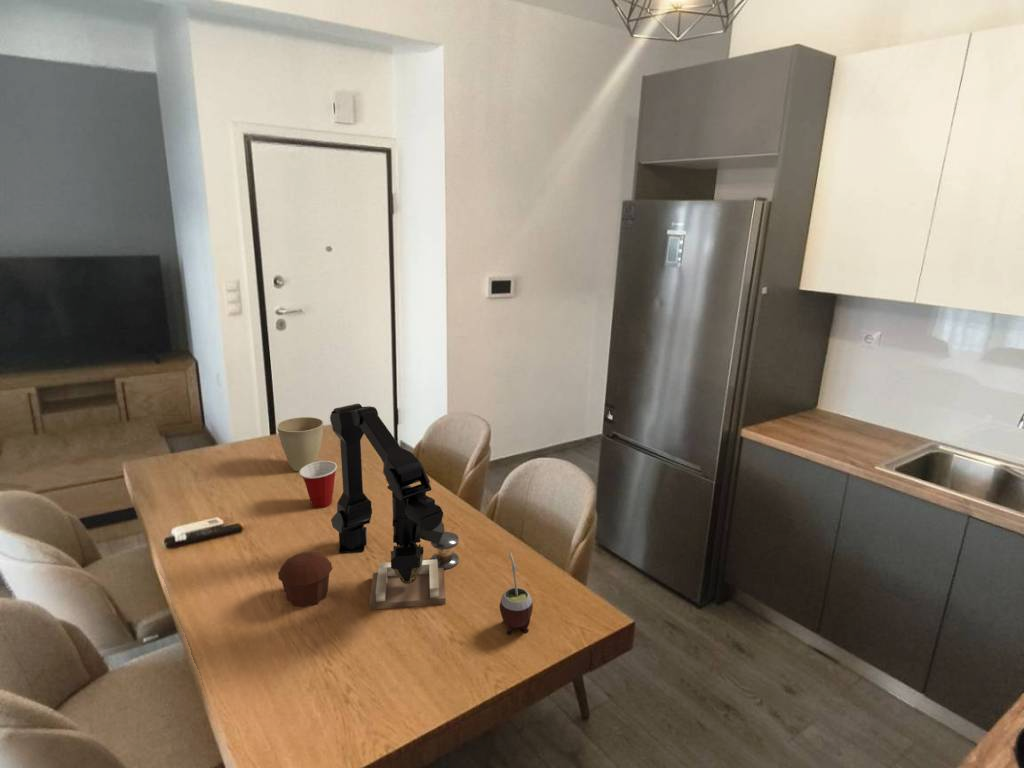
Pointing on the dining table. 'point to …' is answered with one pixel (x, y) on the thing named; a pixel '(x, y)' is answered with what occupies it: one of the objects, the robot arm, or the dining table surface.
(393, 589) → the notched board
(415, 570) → the cup
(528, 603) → the mate gourd
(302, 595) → the muffin
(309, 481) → the plastic cup
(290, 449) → the plant pot
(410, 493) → the robot arm
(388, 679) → the dining table surface
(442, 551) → the bobbin
